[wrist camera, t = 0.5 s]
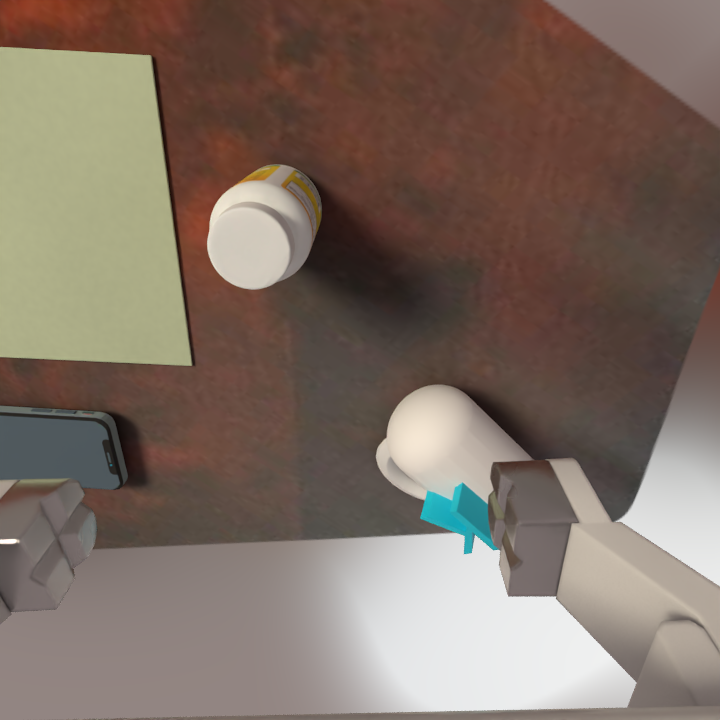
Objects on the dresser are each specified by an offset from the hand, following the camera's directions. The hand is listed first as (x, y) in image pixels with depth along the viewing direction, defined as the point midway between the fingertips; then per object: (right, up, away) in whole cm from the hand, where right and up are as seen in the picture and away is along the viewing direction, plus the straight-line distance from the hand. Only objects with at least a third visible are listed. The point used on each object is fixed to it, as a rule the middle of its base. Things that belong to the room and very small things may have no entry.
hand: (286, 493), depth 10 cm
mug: (+7, -4, +31) cm, 32 cm away
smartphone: (-26, -4, +32) cm, 41 cm away
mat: (-19, +11, +23) cm, 32 cm away
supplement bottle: (-4, +13, +22) cm, 26 cm away
